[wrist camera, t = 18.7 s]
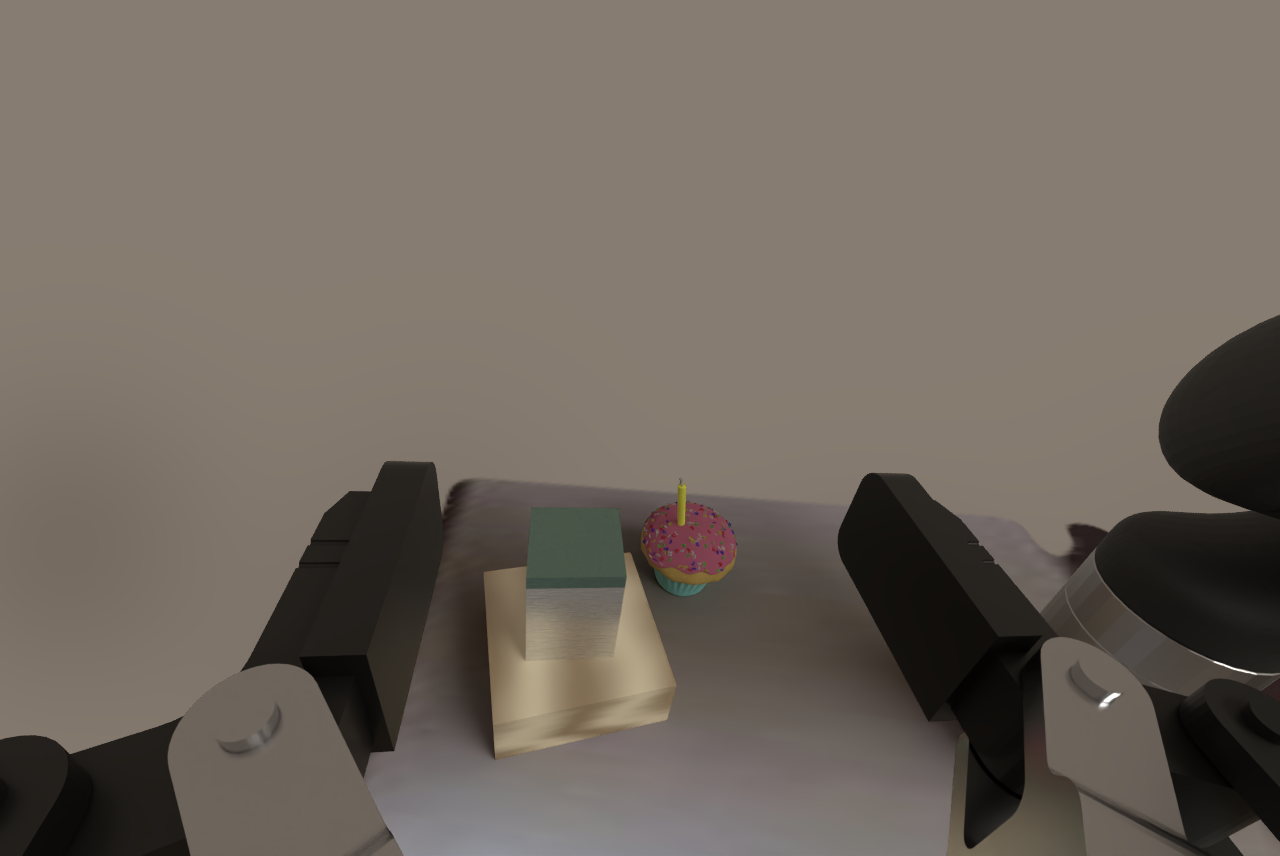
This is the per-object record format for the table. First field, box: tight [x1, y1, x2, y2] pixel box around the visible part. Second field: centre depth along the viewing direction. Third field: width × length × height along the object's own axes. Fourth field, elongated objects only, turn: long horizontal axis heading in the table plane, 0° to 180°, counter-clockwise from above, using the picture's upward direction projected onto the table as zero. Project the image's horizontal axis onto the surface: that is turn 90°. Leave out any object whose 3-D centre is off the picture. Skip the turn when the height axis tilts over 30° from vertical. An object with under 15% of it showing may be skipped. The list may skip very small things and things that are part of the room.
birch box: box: [484, 552, 677, 760], centre depth 41 cm, size 12×12×5 cm
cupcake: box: [641, 478, 737, 596], centre depth 47 cm, size 9×8×12 cm
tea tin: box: [526, 507, 627, 661], centre depth 37 cm, size 6×6×8 cm
